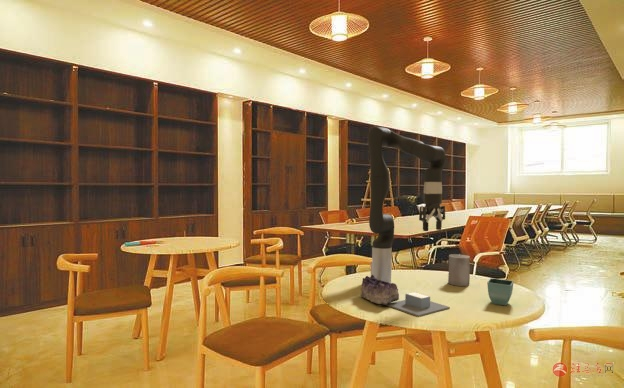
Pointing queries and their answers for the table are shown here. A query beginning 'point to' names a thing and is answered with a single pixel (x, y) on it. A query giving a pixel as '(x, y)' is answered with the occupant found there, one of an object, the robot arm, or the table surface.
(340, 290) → the table surface
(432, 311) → the rubber mat
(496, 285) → the flower pot
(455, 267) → the pillar candle
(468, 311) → the table surface
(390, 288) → the geode
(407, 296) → the card box
